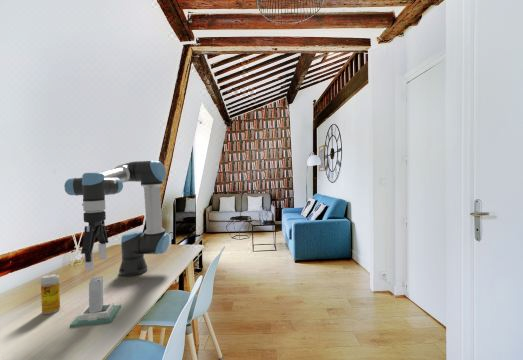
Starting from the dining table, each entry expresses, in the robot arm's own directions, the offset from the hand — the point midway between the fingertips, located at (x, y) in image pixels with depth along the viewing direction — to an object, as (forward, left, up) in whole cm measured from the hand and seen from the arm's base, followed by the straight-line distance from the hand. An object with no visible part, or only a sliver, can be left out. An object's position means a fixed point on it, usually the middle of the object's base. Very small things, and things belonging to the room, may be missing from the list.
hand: (96, 264), depth 110 cm
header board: (+1, 0, -21) cm, 21 cm away
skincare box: (+1, 0, -18) cm, 18 cm away
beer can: (-9, -21, -21) cm, 31 cm away
